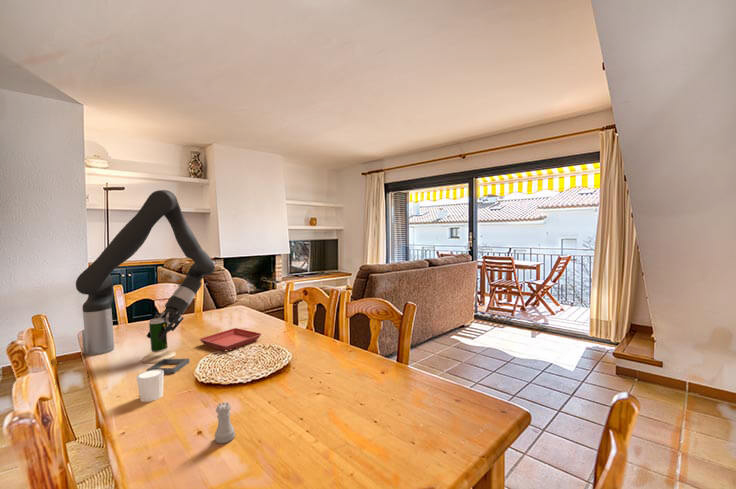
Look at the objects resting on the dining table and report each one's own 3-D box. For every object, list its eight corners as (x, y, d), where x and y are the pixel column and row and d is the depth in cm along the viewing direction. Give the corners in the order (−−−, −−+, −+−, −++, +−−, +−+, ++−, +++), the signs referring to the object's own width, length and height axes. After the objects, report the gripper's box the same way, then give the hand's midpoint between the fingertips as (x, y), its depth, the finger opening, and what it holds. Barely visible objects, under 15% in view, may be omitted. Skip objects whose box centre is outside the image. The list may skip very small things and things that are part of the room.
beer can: (151, 354, 131) (149, 322, 130) (151, 349, 135) (148, 319, 134) (168, 350, 134) (165, 319, 133) (167, 346, 138) (164, 316, 137)
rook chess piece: (218, 433, 83) (216, 400, 83) (237, 432, 84) (235, 399, 83) (211, 445, 79) (209, 410, 78) (232, 443, 79) (230, 409, 79)
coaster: (135, 363, 129) (135, 361, 129) (154, 352, 140) (154, 351, 140) (164, 363, 129) (164, 361, 129) (181, 352, 140) (181, 350, 140)
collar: (146, 373, 119) (146, 369, 119) (164, 362, 129) (163, 358, 129) (174, 373, 119) (173, 369, 119) (189, 362, 128) (189, 358, 128)
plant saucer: (262, 340, 152) (262, 333, 152) (226, 354, 137) (225, 345, 137) (235, 334, 162) (235, 327, 162) (198, 346, 147) (198, 339, 146)
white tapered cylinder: (170, 393, 105) (169, 370, 104) (149, 404, 98) (148, 380, 98) (153, 390, 107) (152, 367, 107) (131, 401, 101) (130, 377, 100)
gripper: (162, 294, 143) (134, 331, 133) (186, 296, 137) (158, 335, 127) (175, 304, 148) (149, 341, 138) (198, 306, 142) (173, 345, 132)
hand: (153, 338), depth 132 cm, fingers closed on beer can, 5 cm apart
